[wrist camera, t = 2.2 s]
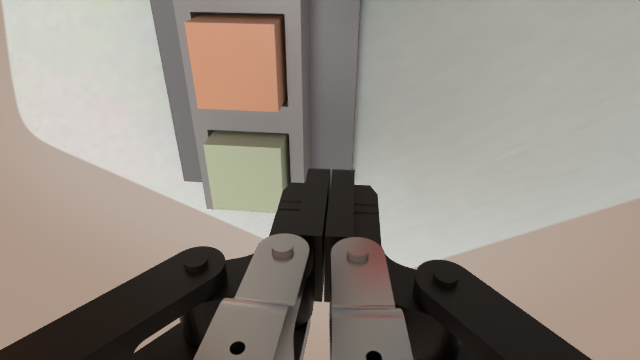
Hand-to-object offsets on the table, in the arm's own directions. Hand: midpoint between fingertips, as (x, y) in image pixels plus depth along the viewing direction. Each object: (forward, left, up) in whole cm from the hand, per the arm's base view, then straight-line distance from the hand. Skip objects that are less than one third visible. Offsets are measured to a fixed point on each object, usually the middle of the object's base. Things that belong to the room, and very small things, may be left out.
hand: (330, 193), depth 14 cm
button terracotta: (+7, 0, -16) cm, 18 cm away
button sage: (+7, +8, -16) cm, 20 cm away
